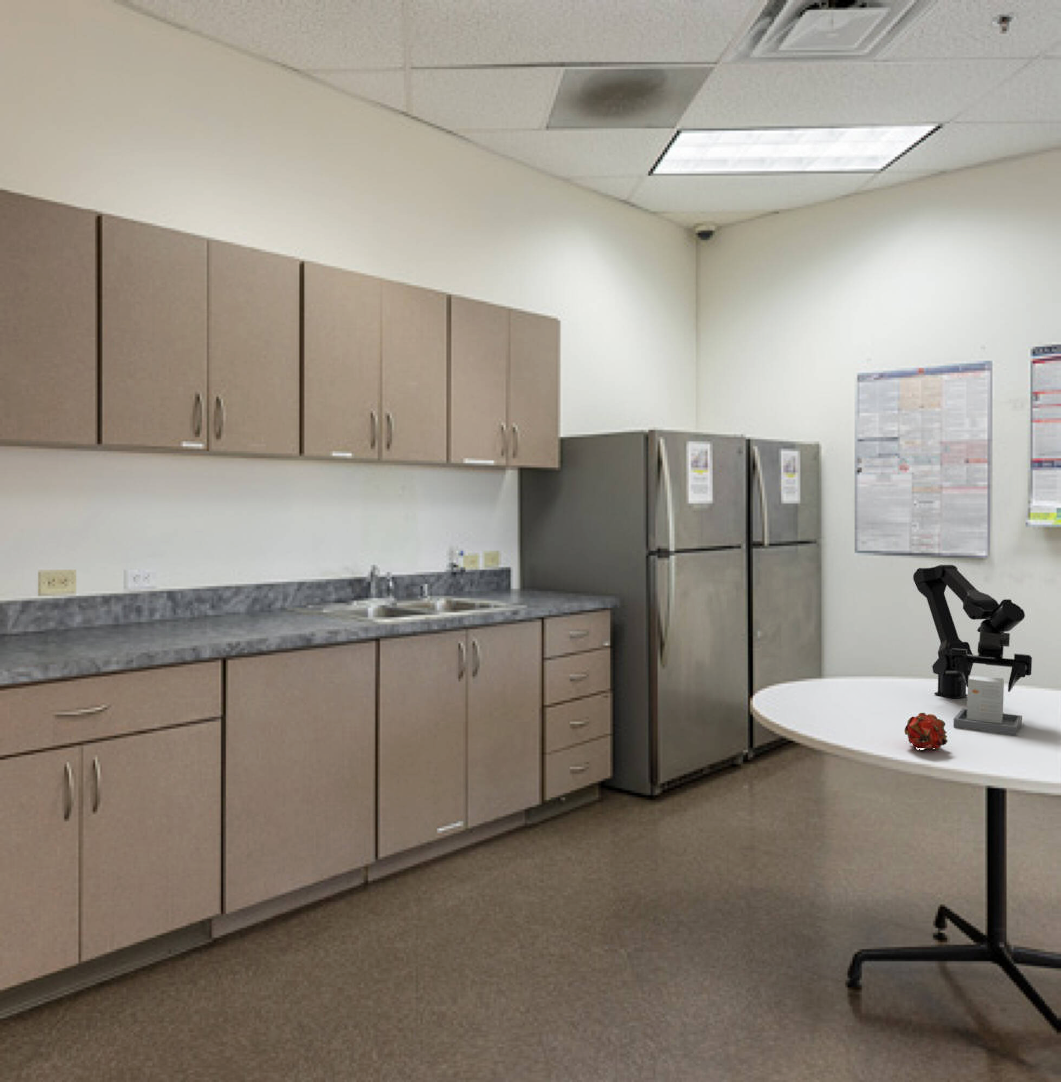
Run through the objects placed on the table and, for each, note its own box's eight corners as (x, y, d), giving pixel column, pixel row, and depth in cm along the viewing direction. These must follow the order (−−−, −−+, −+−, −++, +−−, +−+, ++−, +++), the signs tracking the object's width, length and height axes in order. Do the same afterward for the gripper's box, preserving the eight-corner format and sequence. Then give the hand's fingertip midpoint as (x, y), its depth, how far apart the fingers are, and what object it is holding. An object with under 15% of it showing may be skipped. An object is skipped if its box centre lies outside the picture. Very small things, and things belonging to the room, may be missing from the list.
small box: (1002, 719, 216) (1004, 678, 216) (1002, 724, 211) (1004, 682, 211) (966, 715, 220) (968, 674, 220) (966, 719, 215) (968, 678, 215)
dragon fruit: (930, 748, 198) (927, 769, 188) (898, 724, 201) (893, 744, 190) (955, 723, 195) (953, 743, 184) (922, 698, 197) (918, 717, 187)
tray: (953, 726, 211) (953, 718, 211) (962, 715, 222) (962, 708, 222) (1016, 735, 204) (1016, 727, 203) (1022, 723, 215) (1022, 715, 215)
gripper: (951, 617, 226) (946, 666, 217) (1033, 623, 216) (1031, 674, 207) (952, 643, 233) (948, 691, 224) (1032, 649, 223) (1030, 700, 214)
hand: (988, 688), depth 217 cm, fingers open, 9 cm apart
